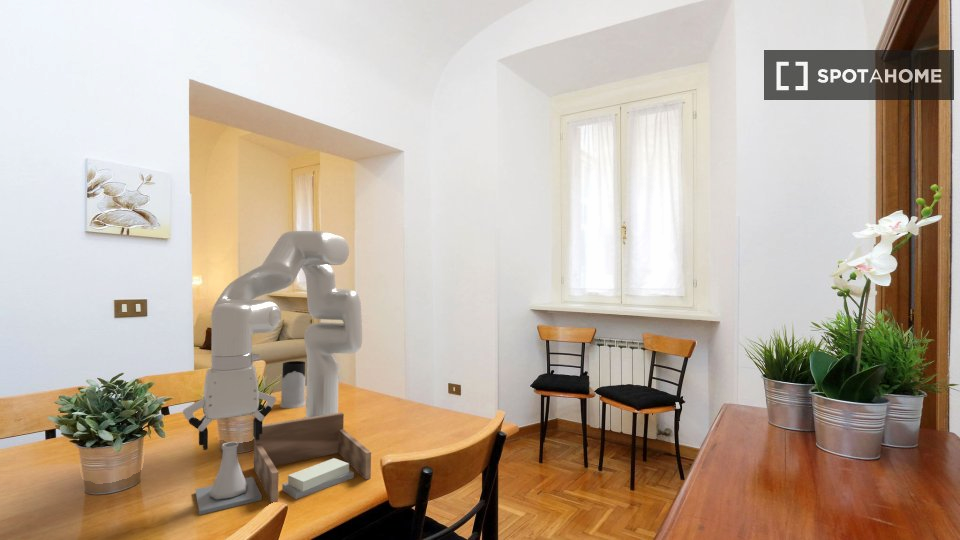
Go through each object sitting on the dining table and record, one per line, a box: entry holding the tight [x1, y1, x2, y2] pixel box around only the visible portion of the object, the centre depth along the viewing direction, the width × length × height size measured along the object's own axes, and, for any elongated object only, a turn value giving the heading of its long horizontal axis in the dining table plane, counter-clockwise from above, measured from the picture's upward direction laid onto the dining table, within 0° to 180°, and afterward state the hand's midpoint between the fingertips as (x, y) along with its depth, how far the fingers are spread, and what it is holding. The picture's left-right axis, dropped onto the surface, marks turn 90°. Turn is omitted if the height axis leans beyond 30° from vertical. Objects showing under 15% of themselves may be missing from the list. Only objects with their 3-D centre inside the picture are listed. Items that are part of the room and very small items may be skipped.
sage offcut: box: [287, 457, 350, 491], centre depth 103 cm, size 5×12×2 cm, turn 145°
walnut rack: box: [253, 412, 372, 504], centre depth 109 cm, size 21×21×10 cm
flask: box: [209, 441, 248, 499], centre depth 97 cm, size 7×7×10 cm
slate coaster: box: [194, 476, 263, 516], centre depth 96 cm, size 11×11×1 cm
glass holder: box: [279, 360, 306, 409], centre depth 168 cm, size 9×14×15 cm, turn 25°
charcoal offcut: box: [281, 469, 355, 500], centre depth 103 cm, size 6×14×2 cm, turn 139°
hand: (231, 442), depth 97 cm, fingers open, 9 cm apart
